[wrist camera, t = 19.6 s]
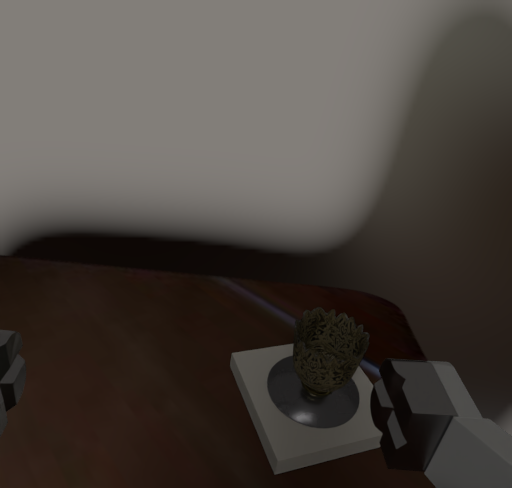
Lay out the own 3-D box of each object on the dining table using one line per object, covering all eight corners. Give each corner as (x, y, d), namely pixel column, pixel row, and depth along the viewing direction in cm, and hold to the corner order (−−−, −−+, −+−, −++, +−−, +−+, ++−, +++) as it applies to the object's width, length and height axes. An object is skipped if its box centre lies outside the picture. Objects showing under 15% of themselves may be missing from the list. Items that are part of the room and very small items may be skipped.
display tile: (229, 365, 54) (231, 351, 53) (334, 348, 59) (338, 335, 58) (274, 474, 43) (278, 459, 42) (398, 442, 48) (405, 428, 47)
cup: (331, 428, 45) (350, 369, 41) (269, 389, 48) (281, 331, 45) (361, 385, 51) (380, 329, 47) (304, 352, 54) (317, 298, 50)
